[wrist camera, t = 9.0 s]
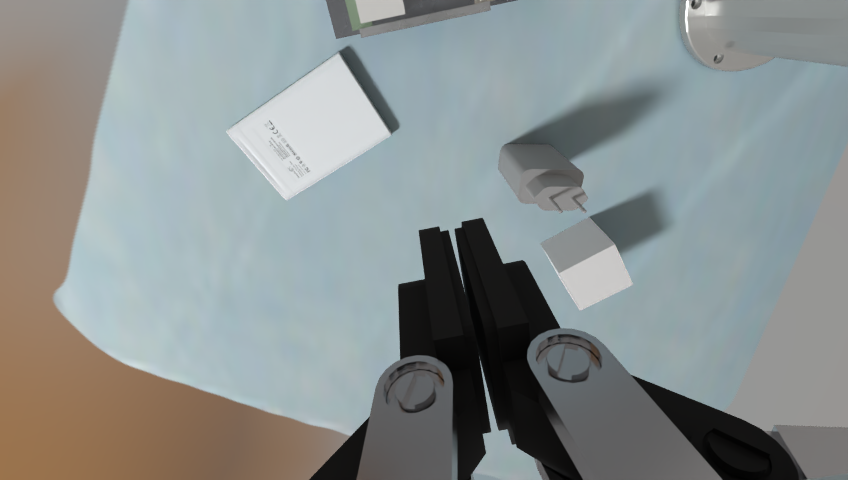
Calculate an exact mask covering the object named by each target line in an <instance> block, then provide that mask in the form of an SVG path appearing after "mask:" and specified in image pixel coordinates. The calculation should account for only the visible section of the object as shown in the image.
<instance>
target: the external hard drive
mask: <svg viewBox="0 0 848 480" xmlns="http://www.w3.org/2000/svg"><path fill="white" fill-rule="evenodd" d="M227 133H228V135H229V136H230V137H231V138H232V140H233V141H234V142H235V143H236V144H237V145H238V146H239V148H240V149H241V150H242V151H243V152H244V153H245V154H246V155H247V157H248V158H249V159H250V160H251V161H252V162H253V163H254V165H255V166H256V167H257V168H258V169H259V170H260V172H261V173H262V174H263V175H264V176H265V177H266V178H267V179H268V181H269V182H270V183H271V184H272V185H273V186H274V188H275V189H276V190H277V191H278V192H279V193H280V194H281V196H282V197H283V198H284V199H286V200H289V199H290V198H292V197H293V196H295V195H296V194H298V193H300V192H301V191H303V190H305V189H306V188H308V187H309V186H311V185H313V184H314V183H316V182H318V181H319V180H321V179H322V178H324V177H326V176H327V175H329V174H330V173H332V172H334V171H335V170H337V169H338V168H340V167H342V166H343V165H345V164H346V163H348V162H350V161H351V160H353V159H355V158H356V157H358V156H359V155H361V154H363V153H364V152H366V151H367V150H369V149H371V148H372V147H374V146H375V145H377V144H378V143H380V142H382V141H383V140H385V139H386V138H388V137H390V136H391V135H392V132H391V130H390V129H389V127H388V126H387V124H386V123H385V121H384V120H383V118H382V117H381V115H380V114H379V112H378V110H377V109H376V107H375V106H374V104H373V103H372V101H371V100H370V98H369V96H368V95H367V93H366V92H365V90H364V89H363V87H362V86H361V84H360V82H359V81H358V79H357V78H356V76H355V75H354V73H353V72H352V70H351V68H350V67H349V65H348V64H347V62H346V61H345V59H344V58H343V56H342V54H341V53H340V52H338V53H336V54H335V55H334V56H332V57H331V58H329V59H328V60H326V61H325V62H323V63H322V64H321V65H319V66H318V67H316V68H315V69H314V70H312V71H311V72H309V73H308V74H306V75H305V76H304V77H302V78H301V79H299V80H298V81H296V82H295V83H294V84H292V85H291V86H289V87H288V88H287V89H285V90H284V91H282V92H281V93H279V94H278V95H276V96H275V97H274V98H272V99H271V100H269V101H268V102H266V103H265V104H264V105H262V106H261V107H259V108H258V109H256V110H255V111H254V112H252V113H251V114H249V115H248V116H246V117H245V118H244V119H242V120H241V121H239V122H238V123H236V124H235V125H234V126H232V127H231V128H229V129H228V130H227Z"/></svg>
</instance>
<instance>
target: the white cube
mask: <svg viewBox="0 0 848 480" xmlns="http://www.w3.org/2000/svg"><path fill="white" fill-rule="evenodd" d="M540 244H541V246H542V248H543V250H544V251H545V253H546V255H547V257H548V258H549V260H550V262H551V264H552V266H553V267H554V269H555V271H556V273H557V274H558V276H559V278H560V280H561V281H562V283H563V284H564V286H565V288H566V289H567V291H568V292H569V294H570V296H571V297H572V299H573V300H574V302H575V304H576V305H577V307H578V308H579V310H582V309H585V308H587V307H589V306H591V305H593V304H595V303H597V302H599V301H601V300H603V299H605V298H607V297H609V296H611V295H613V294H615V293H617V292H619V291H621V290H623V289H625V288H627V287H629V286H631V285H633V283H632V281H631V279H630V277H629V274H628V272H627V270H626V268H625V265H624V263H623V261H622V259H621V256H620V254H619V252H618V250H617V247H616V245H615V244H614V242H613V241H612V240H611V239H610V238H609V237H608V236H607V235H606V234H605V233H604V232H603V231H602V230H601V229H600V228H599V227H598V226H597V225H596V224H595V223H594V221H593V220H592V219H591V218H590V217H588V218H586V219H584V220H583V221H581V222H579V223H577V224H575V225H573V226H572V227H570V228H568V229H566V230H564V231H562V232H561V233H559V234H557V235H555V236H553V237H551V238H549V239H548V240H546V241H544V242H542V243H540Z"/></svg>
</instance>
